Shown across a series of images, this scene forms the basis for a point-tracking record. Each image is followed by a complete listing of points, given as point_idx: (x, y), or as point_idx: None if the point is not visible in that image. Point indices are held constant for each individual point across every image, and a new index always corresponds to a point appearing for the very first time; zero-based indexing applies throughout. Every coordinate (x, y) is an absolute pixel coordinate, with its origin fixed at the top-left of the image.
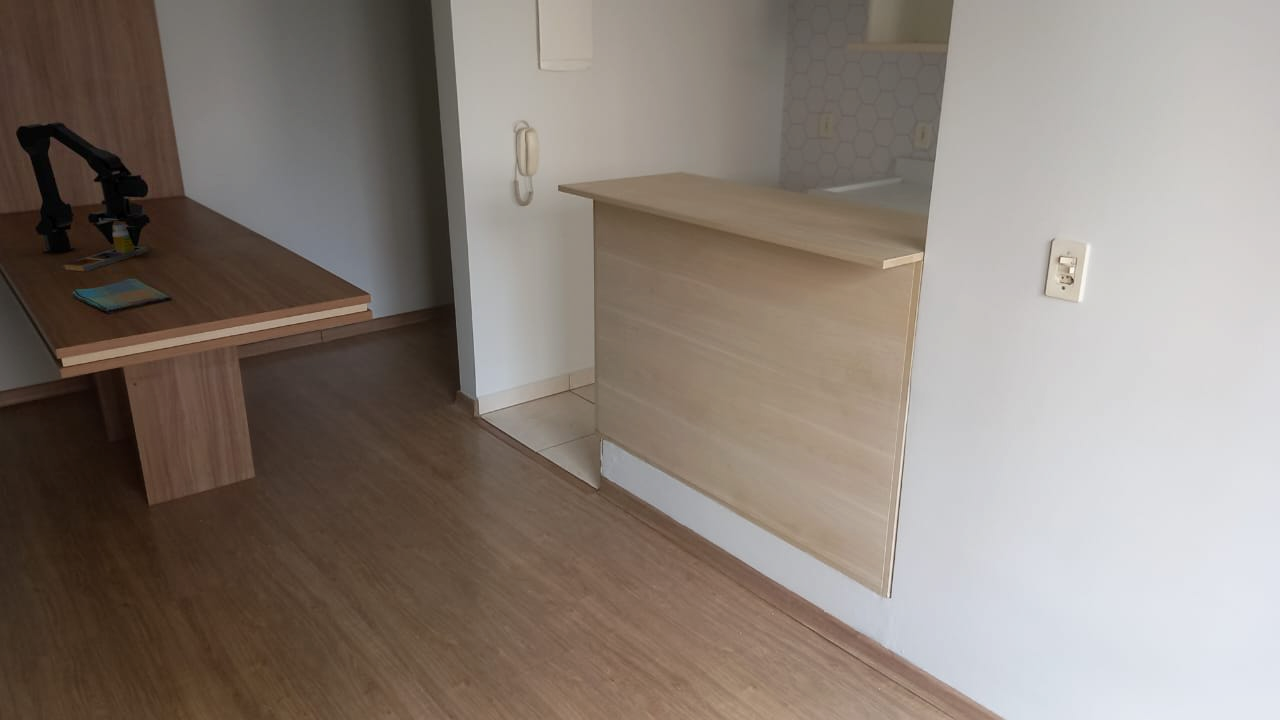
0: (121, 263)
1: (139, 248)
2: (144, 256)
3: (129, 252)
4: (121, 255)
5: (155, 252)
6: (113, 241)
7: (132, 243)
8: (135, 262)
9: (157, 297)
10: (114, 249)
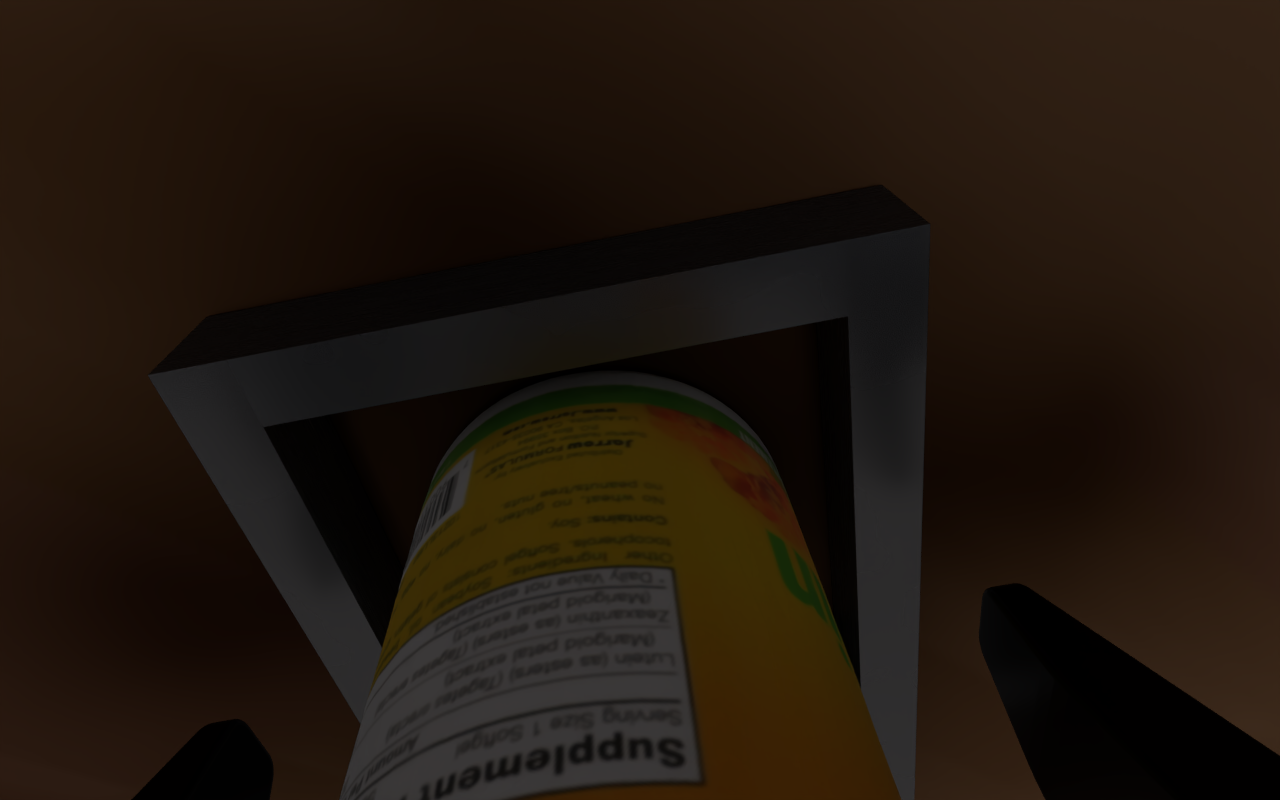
0: (1004, 773)
1: (745, 330)
2: (1072, 436)
3: (883, 646)
4: (910, 778)
5: (1089, 92)
6: (217, 783)
7: (841, 637)
8: (1173, 682)
9: None
10: (365, 657)
